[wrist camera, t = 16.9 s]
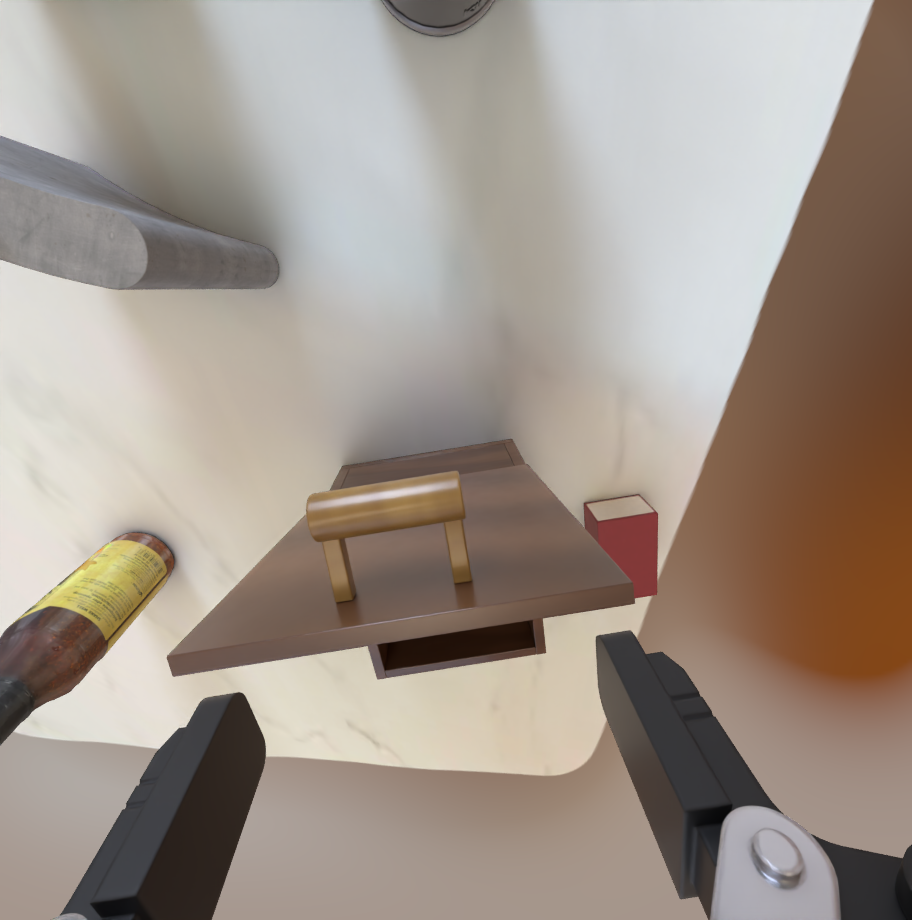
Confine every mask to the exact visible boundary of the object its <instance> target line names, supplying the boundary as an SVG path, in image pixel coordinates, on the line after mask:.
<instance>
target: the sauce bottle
mask: <svg viewBox="0 0 912 920" xmlns="http://www.w3.org/2000/svg"><path fill="white" fill-rule="evenodd" d="M173 566H174V559H173V556H172V553H171V552H170V550H169V549H168V547H167V546H166V545H165V544H164V543H163V542H162V541H160V540H159V539H157V538H156V537H154V536H151V535H148V534H143V533H127V534H124V535H122V536H119V537H117V538H115V539H114V540H113V541H111V542H110V543H108V544H106V545H104V546H103V547H102V548H101V549H100V550H98V551H97V552H96V553H95V554H94V555H93V556H91V557H90V558H89V559H88V560H87V561H86V562H84V563H83V564H82V565H81V566H80V567H79V568H77V569H76V570H75V571H74V572H73V573H72V574H70V575H69V576H68V577H67V578H65V579H64V580H63V581H62V582H61V583H60V584H59V585H57V586H56V587H55V588H54V589H52V590H51V591H50V592H49V593H48V594H47V595H45V596H44V597H43V598H42V599H41V600H40V601H39V602H37V603H36V604H35V605H34V606H33V607H32V608H30V609H29V610H28V611H27V612H25V613H24V614H23V615H22V616H21V617H20V618H18V619H17V620H16V621H15V622H14V623H13V624H12V625H10V626H9V627H8V628H7V629H6V630H5V632H4V633H3V634H2V636H1V638H0V745H1V744H2V743H3V742H4V741H5V740H6V739H7V737H8V736H9V735H10V734H11V733H12V732H13V731H14V730H15V729H16V727H17V726H18V725H19V724H20V723H21V722H22V721H24V720H25V719H26V718H28V716H29V715H30V714H31V712H32V711H34V710H35V709H36V708H38V707H40V706H41V705H43V704H45V703H47V702H49V701H51V700H55V699H57V698H59V697H61V696H63V695H65V694H67V693H69V692H70V691H72V689H73V688H74V687H75V686H76V685H77V684H79V683H80V681H81V680H82V679H83V678H84V677H85V676H86V674H87V673H88V672H89V671H90V670H91V668H92V667H93V666H94V665H95V664H96V663H97V662H98V661H99V660H100V659H102V658H103V657H104V656H105V654H106V653H107V652H108V651H109V650H110V648H111V647H112V646H113V645H114V644H115V642H116V641H117V640H118V639H119V638H120V637H121V635H122V634H123V633H124V632H125V631H126V629H127V628H128V627H129V626H130V625H131V624H132V622H133V621H134V620H135V619H136V618H137V616H138V615H139V614H140V613H141V612H142V610H143V609H144V608H145V607H146V606H147V605H148V603H149V602H150V601H151V600H152V599H153V597H154V596H155V595H156V594H157V593H158V591H159V590H160V589H161V588H162V587H163V586H164V584H165V583H166V581H167V579H168V577H169V576H170V574H171V572H172V569H173Z"/></svg>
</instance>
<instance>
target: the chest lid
mask: <svg viewBox="0 0 912 920" xmlns="http://www.w3.org/2000/svg"><path fill="white" fill-rule="evenodd" d="M630 604H635V598H634V587H633V582H632V581H631V580H630V579H629V578H628V577H627V575H626V574H625V573H624V572H623V571H622V570H621V569H620V568H619V566H618V565H617V564H616V563H615V562H614V561H613V560H612V559H611V557H610V556H609V555H608V554H607V553H606V552H605V551H604V550H603V548H602V547H601V546H600V545H599V544H598V543H597V542H596V541H595V539H594V538H593V537H592V536H591V535H590V534H589V533H588V532H587V530H586V529H585V528H584V527H583V526H582V525H581V524H580V523H579V521H578V520H577V519H576V518H575V517H574V516H573V515H572V514H571V512H570V511H569V510H568V509H567V508H566V507H565V506H564V505H563V503H562V502H561V501H560V500H559V499H558V498H557V497H556V496H555V494H554V493H553V492H552V491H551V490H550V489H549V488H548V487H547V485H546V484H545V483H544V482H543V481H542V480H541V479H540V478H539V476H538V475H537V474H536V473H535V472H534V471H533V470H532V469H531V468H530V466H529V465H528V464H524V465H517V466H511V467H505V468H499V469H493V470H486V471H480V472H474V473H468V474H461V475H459V472H458V471H451V472H444V473H438V474H432V475H426V476H419V477H413V478H407V479H401V480H395V481H388V482H382V483H376V484H370V485H363V486H357V487H351V488H345V489H339V490H332V491H326V492H320V493H314V494H311V495H310V496H309V498H308V500H307V507H306V515H305V516H304V517H303V518H302V519H301V520H300V521H299V522H298V523H297V524H296V525H295V526H294V527H293V528H292V529H291V530H290V531H289V532H288V533H287V534H286V535H285V536H284V537H283V538H282V539H281V540H280V541H279V542H278V543H277V544H276V545H275V546H274V547H273V548H272V549H271V551H270V552H269V553H268V554H267V555H266V556H265V557H264V558H263V559H262V560H261V561H260V562H259V563H258V564H257V565H256V566H255V567H254V568H253V569H252V570H251V571H250V572H249V573H248V574H247V575H246V576H245V577H244V578H243V579H242V580H241V581H240V582H239V583H238V584H237V585H236V586H235V587H234V588H233V589H232V590H231V591H230V592H229V593H228V594H227V595H226V596H225V598H224V599H223V600H222V601H221V602H220V603H219V604H218V605H217V606H216V607H215V608H214V609H213V610H212V611H211V612H210V613H209V614H208V615H207V616H206V617H205V618H204V619H203V620H202V621H201V622H200V623H199V624H198V625H197V626H196V627H195V628H194V629H193V630H192V631H191V632H190V633H189V634H188V635H187V636H186V637H185V638H184V639H183V640H182V641H181V642H180V643H179V645H178V646H177V647H176V648H175V649H174V650H173V651H172V652H171V653H170V654H169V655H168V656H167V660H168V663H169V666H170V669H171V672H172V676H174V677H175V676H181V675H187V674H194V673H200V672H206V671H213V670H219V669H225V668H232V667H238V666H244V665H251V664H257V663H263V662H270V661H276V660H282V659H288V658H295V657H301V656H307V655H314V654H320V653H326V652H333V651H339V650H345V649H352V648H358V647H364V646H371V645H377V644H383V643H390V642H396V641H402V640H409V639H415V638H421V637H428V636H434V635H440V634H447V633H453V632H459V631H466V630H472V629H478V628H485V627H491V626H497V625H504V624H510V623H516V622H523V621H529V620H535V619H542V618H548V617H554V616H561V615H567V614H573V613H580V612H586V611H592V610H599V609H605V608H611V607H618V606H624V605H630Z"/></svg>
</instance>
